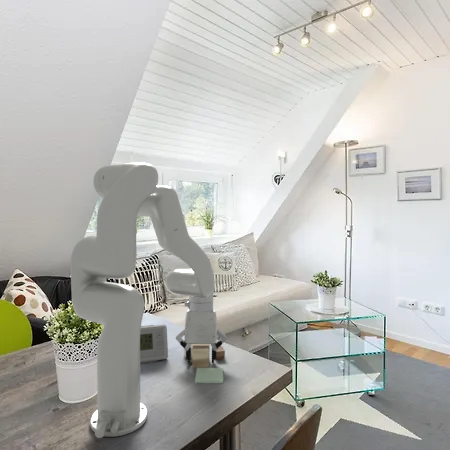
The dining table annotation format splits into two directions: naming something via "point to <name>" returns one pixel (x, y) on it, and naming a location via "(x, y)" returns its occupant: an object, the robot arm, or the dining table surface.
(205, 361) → the beech block
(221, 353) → the walnut box
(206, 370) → the felt pad
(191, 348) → the white capsule
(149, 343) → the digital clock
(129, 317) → the robot arm
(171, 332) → the dining table surface
